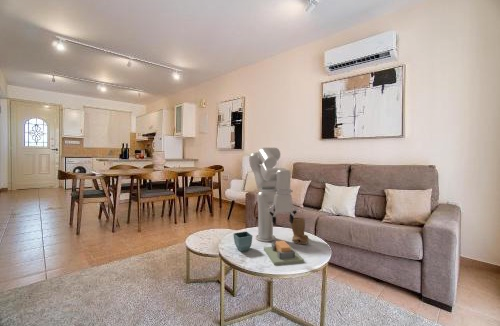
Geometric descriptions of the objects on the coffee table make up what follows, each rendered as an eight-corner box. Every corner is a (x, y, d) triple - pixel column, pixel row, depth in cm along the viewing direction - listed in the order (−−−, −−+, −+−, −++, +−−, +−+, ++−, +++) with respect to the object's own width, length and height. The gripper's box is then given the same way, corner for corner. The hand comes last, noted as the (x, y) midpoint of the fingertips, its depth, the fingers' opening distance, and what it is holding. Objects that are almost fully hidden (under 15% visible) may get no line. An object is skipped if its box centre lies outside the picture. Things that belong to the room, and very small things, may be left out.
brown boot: (290, 236, 171) (291, 214, 170) (308, 237, 167) (309, 215, 167) (287, 244, 156) (288, 220, 155) (307, 246, 153) (307, 221, 152)
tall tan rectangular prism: (275, 249, 143) (275, 241, 142) (283, 249, 144) (284, 240, 143) (281, 257, 133) (281, 247, 133) (290, 256, 134) (290, 247, 134)
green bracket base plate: (263, 249, 146) (263, 242, 146) (289, 247, 150) (289, 240, 150) (274, 265, 127) (274, 256, 127) (303, 262, 130) (303, 253, 130)
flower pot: (238, 253, 141) (238, 237, 141) (232, 248, 149) (233, 233, 149) (252, 251, 145) (252, 235, 144) (246, 245, 153) (246, 231, 152)
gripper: (295, 190, 142) (294, 220, 143) (266, 191, 139) (265, 222, 139) (300, 192, 135) (300, 224, 136) (270, 193, 131) (269, 226, 132)
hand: (282, 223), depth 138 cm, fingers open, 9 cm apart
